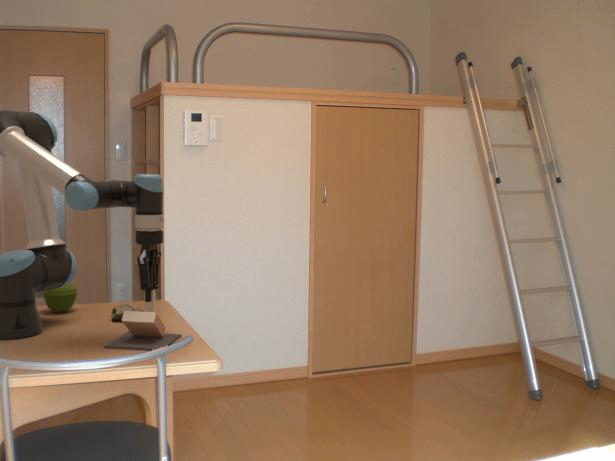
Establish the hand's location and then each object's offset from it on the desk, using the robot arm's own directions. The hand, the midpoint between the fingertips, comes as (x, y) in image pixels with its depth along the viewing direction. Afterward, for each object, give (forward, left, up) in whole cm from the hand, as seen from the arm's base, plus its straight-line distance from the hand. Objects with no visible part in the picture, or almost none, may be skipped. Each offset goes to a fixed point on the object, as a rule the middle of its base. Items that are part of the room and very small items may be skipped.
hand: (149, 312), depth 196 cm
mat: (0, -4, -8) cm, 9 cm away
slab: (0, 0, -6) cm, 6 cm away
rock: (-15, +22, -8) cm, 28 cm away
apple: (-41, +27, -8) cm, 50 cm away
